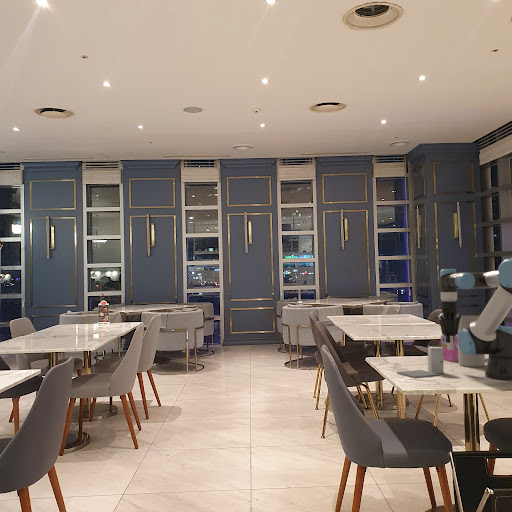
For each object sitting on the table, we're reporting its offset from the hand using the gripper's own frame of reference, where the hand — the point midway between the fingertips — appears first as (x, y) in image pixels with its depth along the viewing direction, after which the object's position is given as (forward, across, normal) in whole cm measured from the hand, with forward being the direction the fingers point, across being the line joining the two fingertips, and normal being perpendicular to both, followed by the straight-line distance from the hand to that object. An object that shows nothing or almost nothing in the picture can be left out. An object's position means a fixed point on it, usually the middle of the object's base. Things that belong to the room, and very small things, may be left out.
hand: (450, 349), depth 251 cm
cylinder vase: (+11, -21, -9) cm, 25 cm away
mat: (+11, +20, 0) cm, 22 cm away
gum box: (+11, -31, -29) cm, 43 cm away
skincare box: (+11, +9, 0) cm, 14 cm away
